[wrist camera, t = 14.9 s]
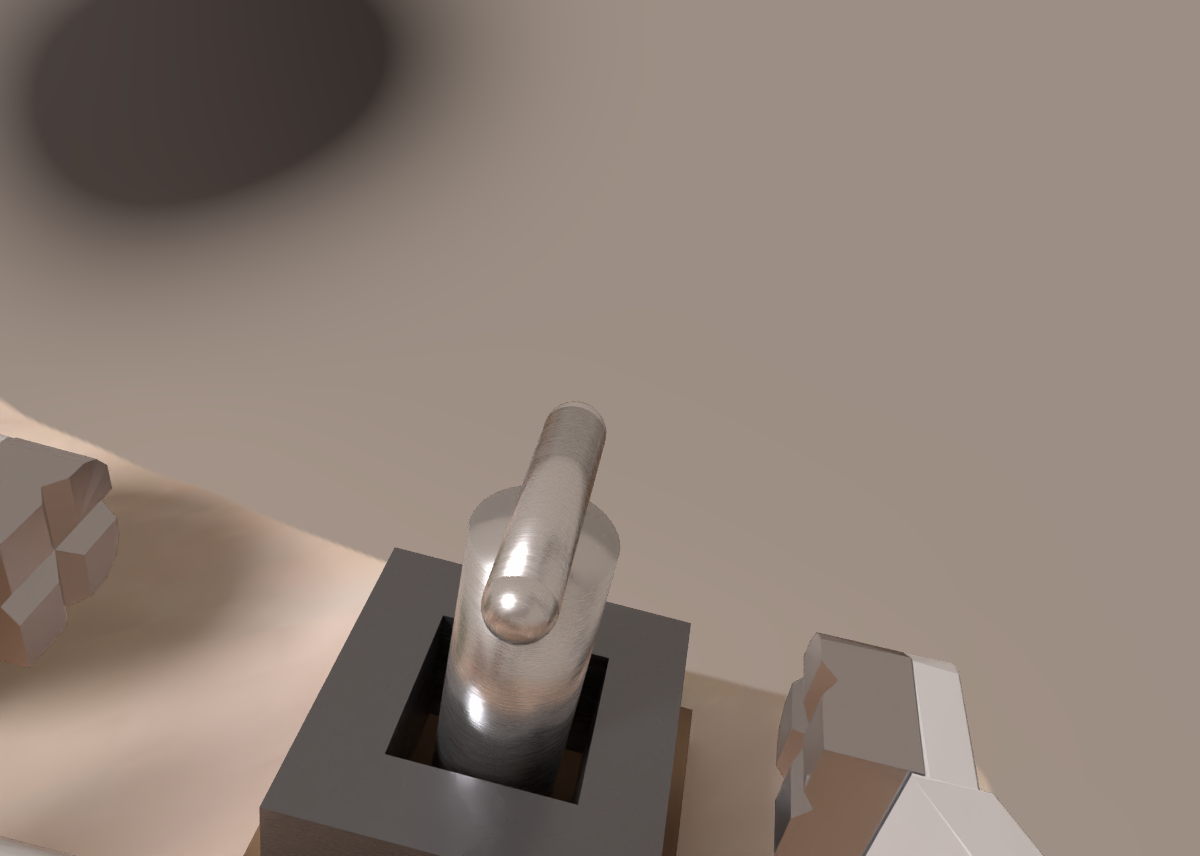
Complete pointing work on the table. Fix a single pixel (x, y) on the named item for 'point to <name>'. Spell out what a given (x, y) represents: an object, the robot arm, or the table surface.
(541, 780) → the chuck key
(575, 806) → the square socket block
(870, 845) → the robot arm
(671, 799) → the beige thin flat slab
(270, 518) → the table surface
